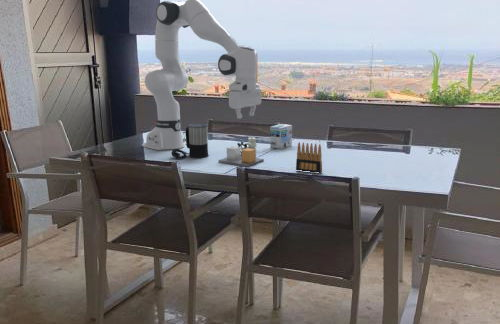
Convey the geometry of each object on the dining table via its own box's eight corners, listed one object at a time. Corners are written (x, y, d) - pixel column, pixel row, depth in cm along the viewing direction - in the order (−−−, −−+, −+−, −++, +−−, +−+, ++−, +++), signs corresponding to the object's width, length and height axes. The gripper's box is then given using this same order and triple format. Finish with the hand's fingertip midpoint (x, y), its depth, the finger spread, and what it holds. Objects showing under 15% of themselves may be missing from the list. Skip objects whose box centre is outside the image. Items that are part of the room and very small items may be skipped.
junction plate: (218, 162, 207) (218, 149, 206) (234, 157, 217) (233, 144, 215) (248, 167, 199) (248, 153, 197) (263, 161, 208) (263, 148, 207)
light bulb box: (280, 149, 233) (281, 127, 230) (269, 147, 237) (269, 126, 234) (292, 145, 241) (292, 124, 239) (281, 144, 245) (281, 123, 243)
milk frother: (212, 155, 221) (212, 124, 217) (191, 162, 208) (190, 129, 205) (189, 152, 228) (188, 121, 225) (167, 158, 216) (165, 126, 212)
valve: (248, 149, 232) (235, 154, 222) (248, 136, 231) (235, 141, 221) (260, 151, 229) (248, 156, 219) (260, 137, 228) (247, 142, 218)
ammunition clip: (322, 173, 188) (322, 143, 186) (320, 174, 187) (321, 144, 184) (297, 169, 194) (297, 141, 191) (295, 170, 192) (296, 142, 189)
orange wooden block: (241, 161, 205) (241, 150, 203) (247, 159, 208) (247, 148, 207) (250, 162, 202) (250, 151, 201) (255, 160, 206) (255, 149, 205)
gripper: (253, 82, 211) (252, 113, 215) (226, 86, 195) (226, 119, 198) (265, 83, 208) (264, 114, 211) (238, 87, 191) (238, 120, 195)
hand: (245, 116), depth 205 cm, fingers open, 8 cm apart
